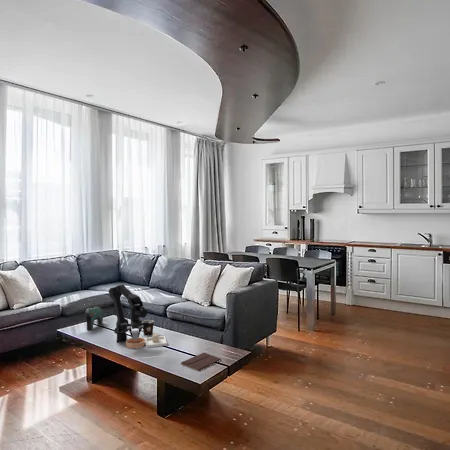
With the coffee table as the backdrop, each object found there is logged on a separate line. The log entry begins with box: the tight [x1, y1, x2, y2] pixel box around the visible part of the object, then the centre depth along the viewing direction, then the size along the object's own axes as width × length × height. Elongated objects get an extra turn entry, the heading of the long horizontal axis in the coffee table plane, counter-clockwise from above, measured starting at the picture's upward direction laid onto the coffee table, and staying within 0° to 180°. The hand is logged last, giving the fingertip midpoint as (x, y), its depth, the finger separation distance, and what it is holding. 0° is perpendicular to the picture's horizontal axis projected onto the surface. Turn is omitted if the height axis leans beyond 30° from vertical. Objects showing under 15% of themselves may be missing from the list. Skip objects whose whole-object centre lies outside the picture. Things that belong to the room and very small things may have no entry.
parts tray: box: [144, 335, 168, 348], centre depth 257 cm, size 14×15×2 cm
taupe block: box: [151, 333, 159, 342], centre depth 260 cm, size 4×5×4 cm
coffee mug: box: [137, 319, 155, 336], centre depth 275 cm, size 12×9×10 cm
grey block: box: [131, 329, 139, 339], centre depth 251 cm, size 4×5×4 cm
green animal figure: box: [84, 302, 104, 331], centre depth 295 cm, size 20×6×20 cm, turn 167°
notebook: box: [180, 352, 222, 372], centre depth 225 cm, size 15×20×2 cm
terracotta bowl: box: [125, 336, 146, 349], centre depth 253 cm, size 13×13×4 cm
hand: (135, 337), depth 251 cm, fingers closed on grey block, 4 cm apart
